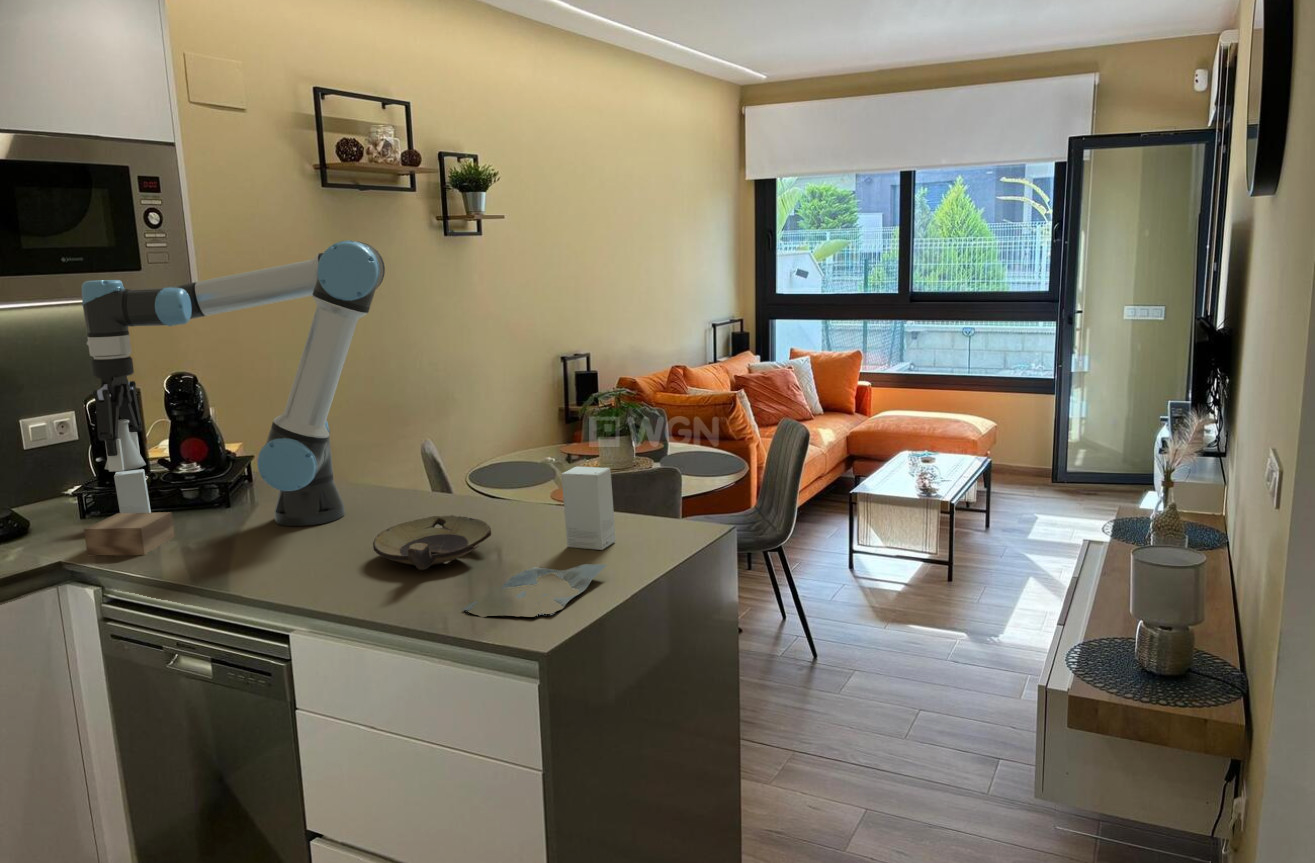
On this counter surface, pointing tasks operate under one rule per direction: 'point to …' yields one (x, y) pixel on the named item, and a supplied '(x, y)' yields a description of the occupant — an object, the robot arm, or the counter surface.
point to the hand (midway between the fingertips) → (125, 466)
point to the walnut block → (129, 533)
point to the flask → (128, 448)
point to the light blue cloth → (574, 576)
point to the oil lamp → (431, 540)
